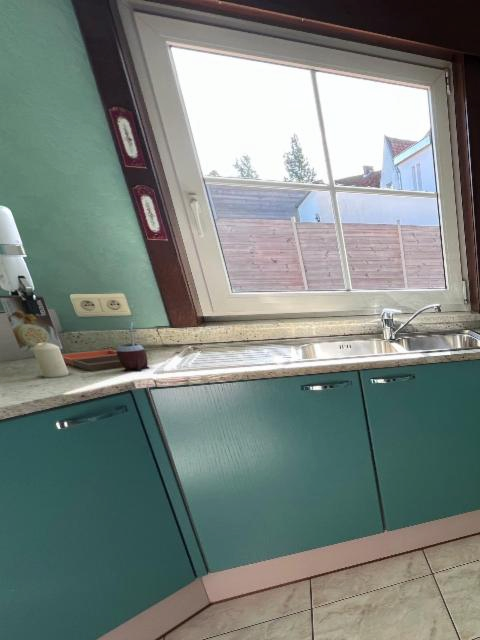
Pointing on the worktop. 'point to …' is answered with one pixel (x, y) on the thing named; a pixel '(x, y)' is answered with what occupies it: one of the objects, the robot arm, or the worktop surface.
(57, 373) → the candle
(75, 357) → the terracotta tray
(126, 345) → the mate gourd
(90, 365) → the walnut tray
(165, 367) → the worktop surface
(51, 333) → the coffee box
